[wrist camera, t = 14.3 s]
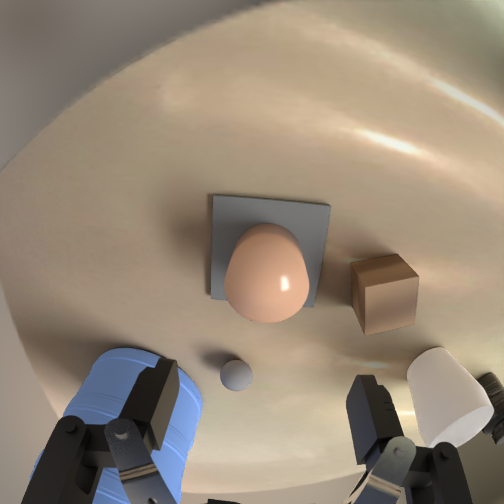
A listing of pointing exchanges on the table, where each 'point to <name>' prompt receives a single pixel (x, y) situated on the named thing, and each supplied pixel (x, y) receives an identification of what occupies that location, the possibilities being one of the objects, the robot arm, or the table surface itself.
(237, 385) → the grey ball
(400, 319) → the walnut block
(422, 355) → the cup
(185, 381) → the water jug
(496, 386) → the supplement bottle
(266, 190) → the table surface
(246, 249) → the peach rounded capsule
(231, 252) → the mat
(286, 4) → the table surface
